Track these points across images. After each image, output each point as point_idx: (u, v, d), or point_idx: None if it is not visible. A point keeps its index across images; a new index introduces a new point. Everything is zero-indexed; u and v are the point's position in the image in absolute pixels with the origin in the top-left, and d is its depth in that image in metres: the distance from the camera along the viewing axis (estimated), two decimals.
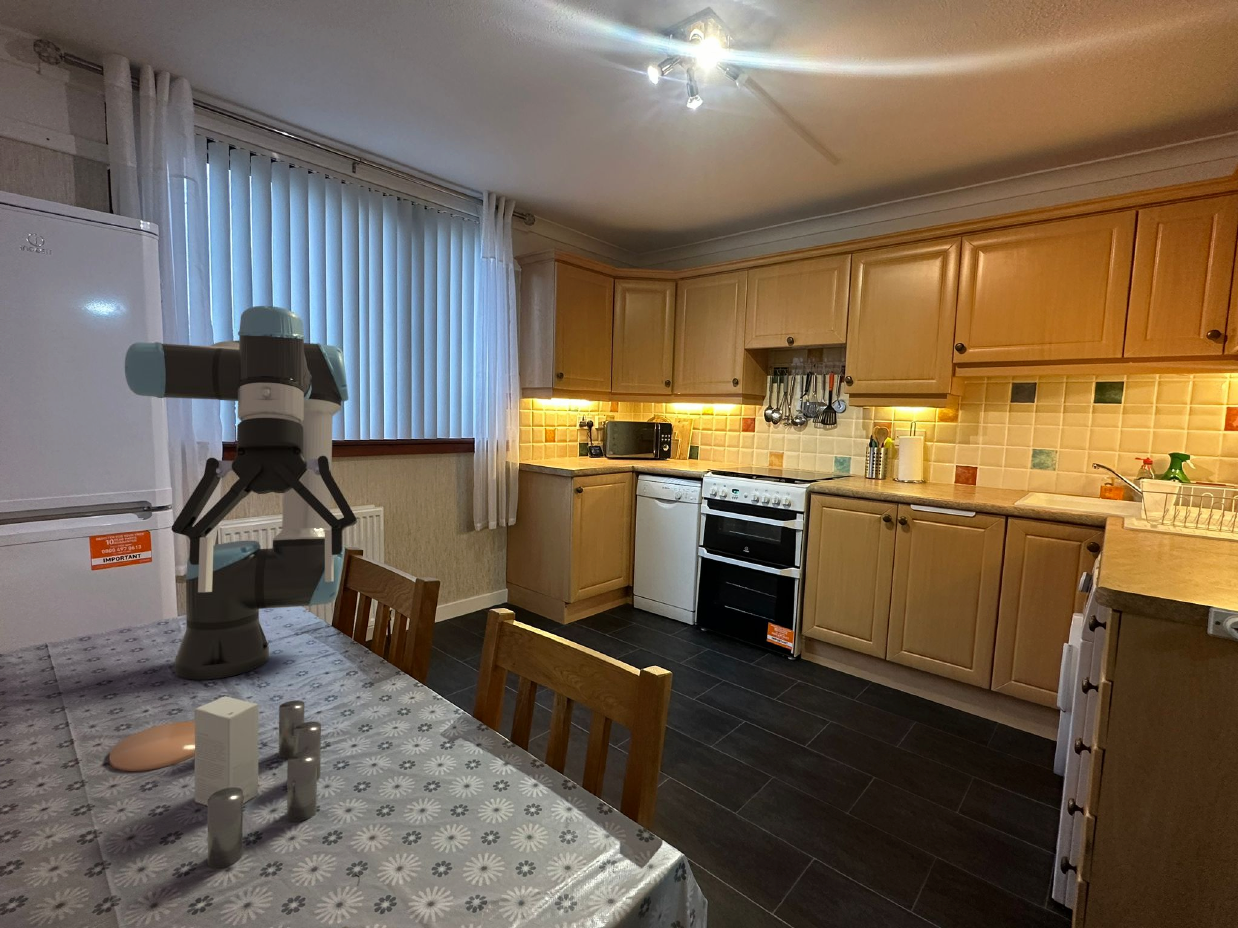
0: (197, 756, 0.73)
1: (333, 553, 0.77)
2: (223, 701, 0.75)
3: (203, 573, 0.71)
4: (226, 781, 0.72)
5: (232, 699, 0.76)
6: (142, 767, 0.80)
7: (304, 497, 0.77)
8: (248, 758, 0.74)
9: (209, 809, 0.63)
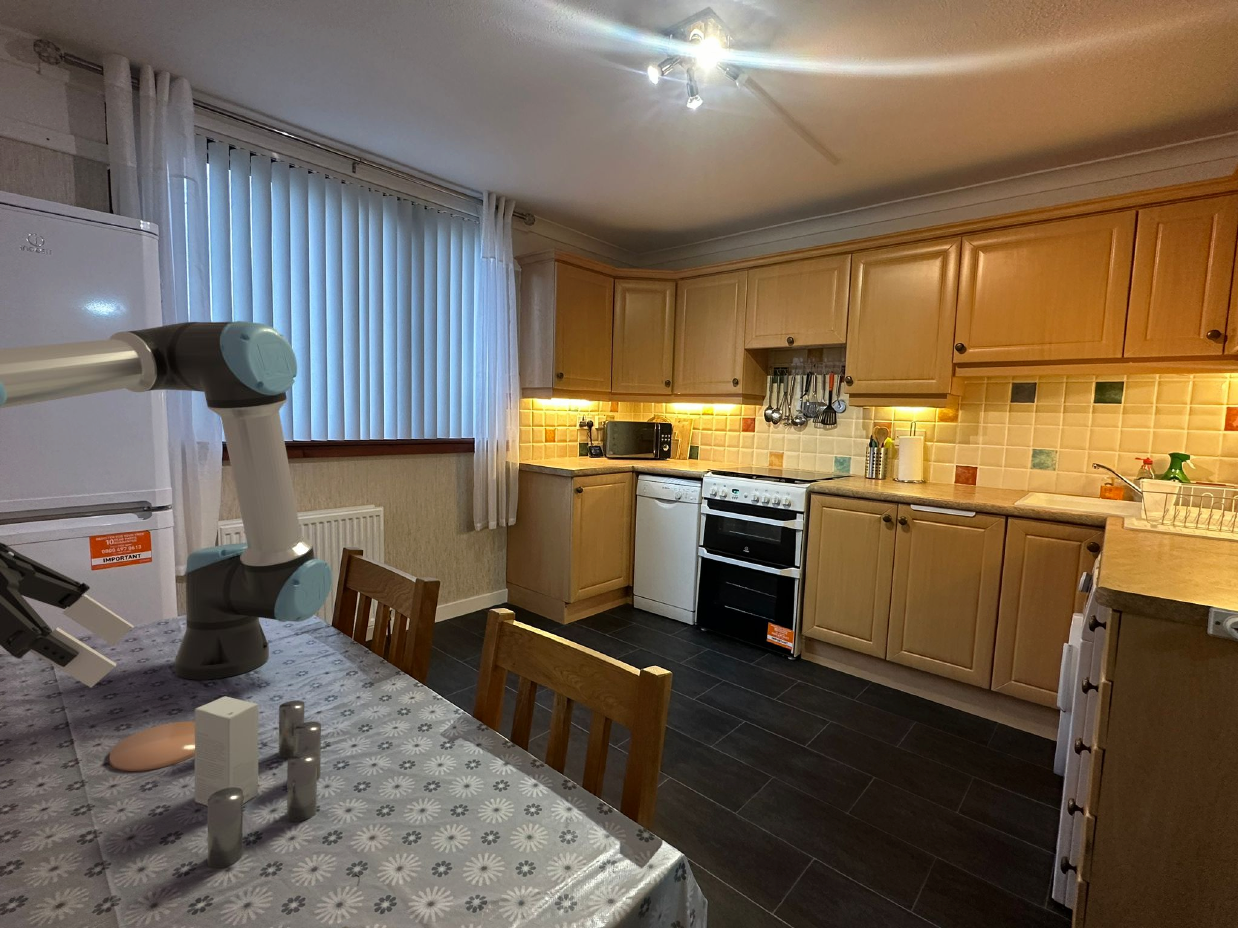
0: (197, 756, 0.73)
1: None
2: (223, 701, 0.75)
3: None
4: (226, 781, 0.72)
5: (232, 699, 0.76)
6: (142, 767, 0.80)
7: None
8: (248, 758, 0.74)
9: (209, 809, 0.63)
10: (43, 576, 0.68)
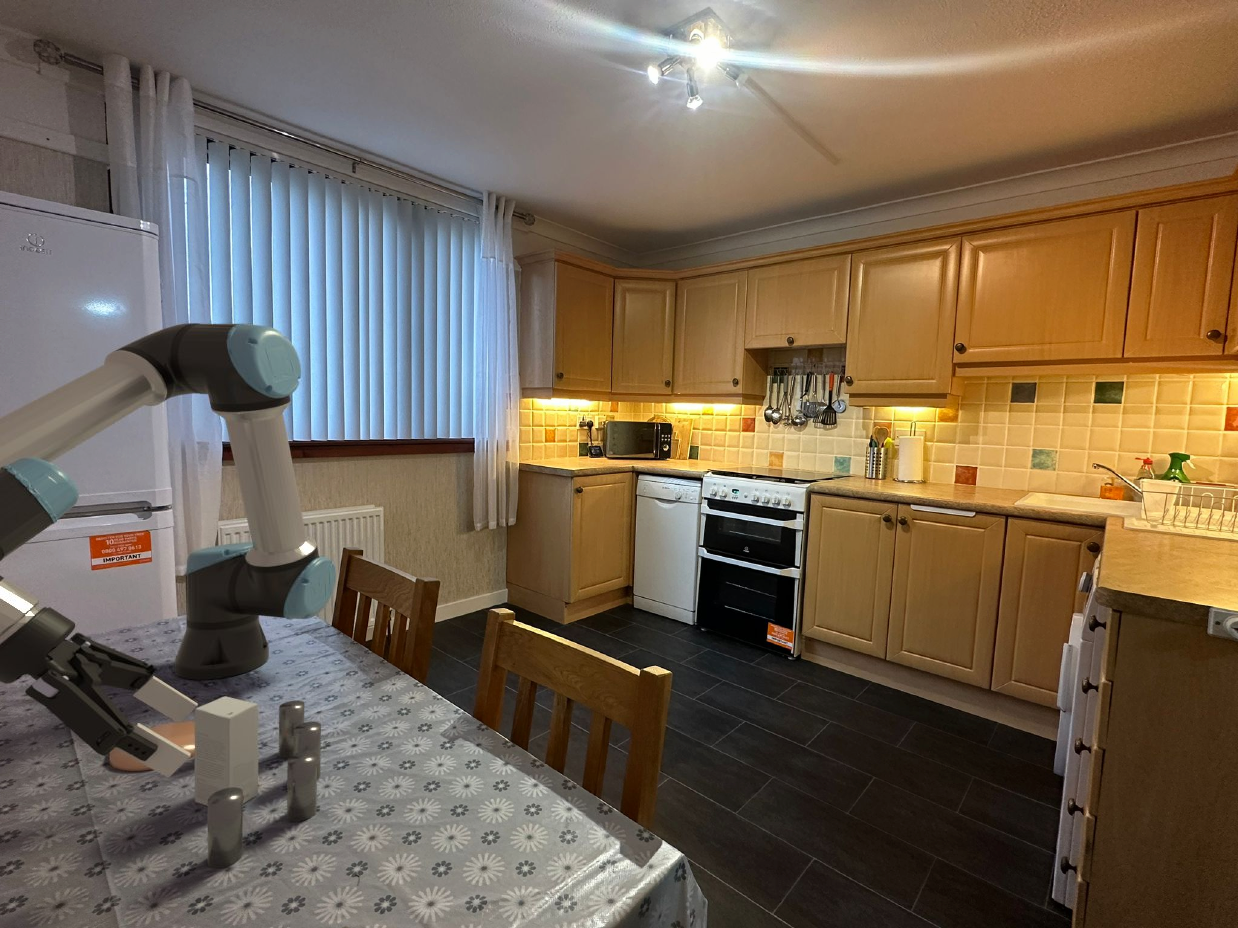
0: (197, 756, 0.73)
1: None
2: (223, 701, 0.75)
3: None
4: (226, 781, 0.72)
5: (232, 699, 0.76)
6: (142, 767, 0.80)
7: None
8: (248, 758, 0.74)
9: (209, 809, 0.63)
10: (117, 663, 0.71)
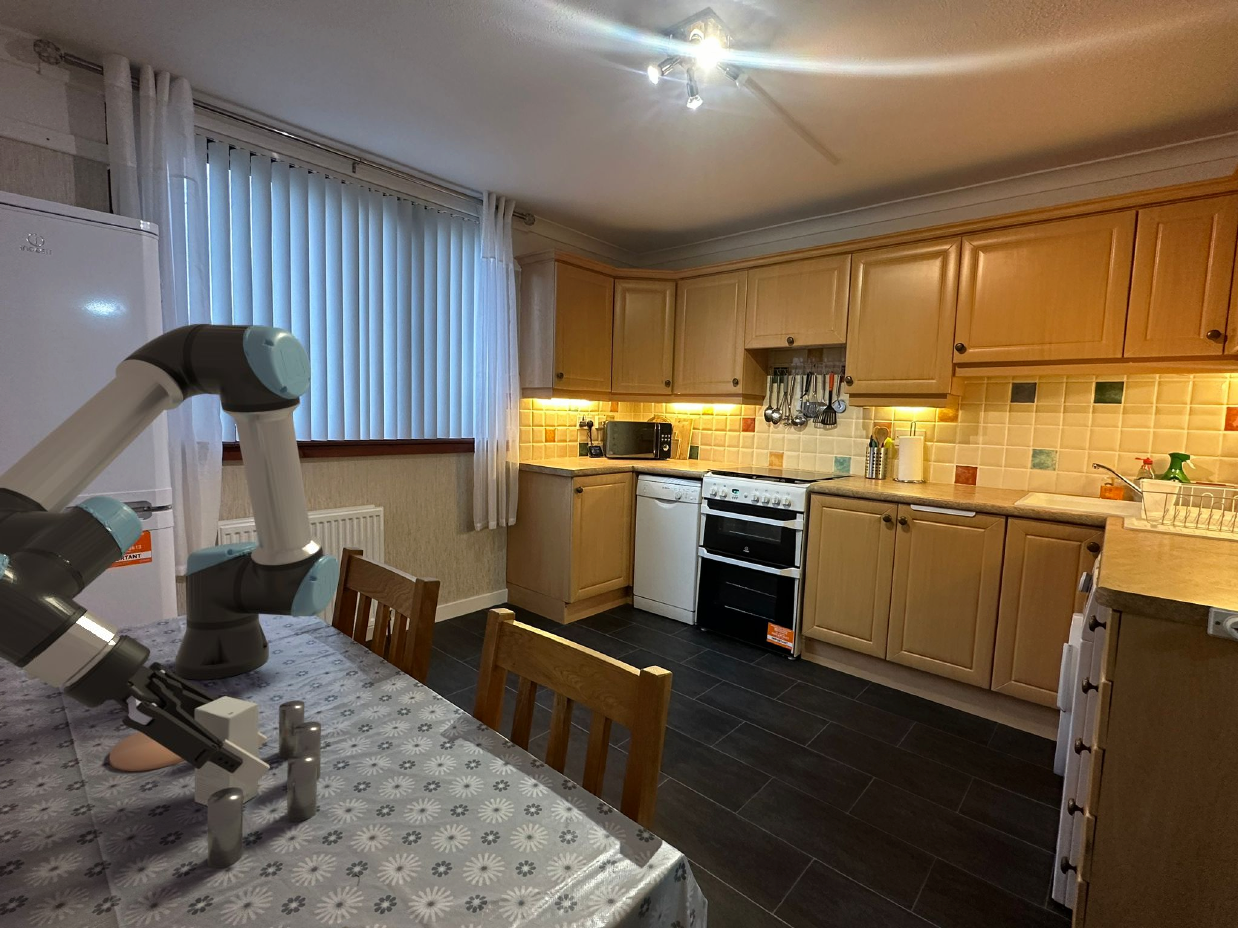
0: None
1: None
2: (223, 701, 0.75)
3: None
4: (226, 781, 0.72)
5: (232, 699, 0.76)
6: (142, 767, 0.80)
7: None
8: None
9: (209, 809, 0.63)
10: (190, 694, 0.75)
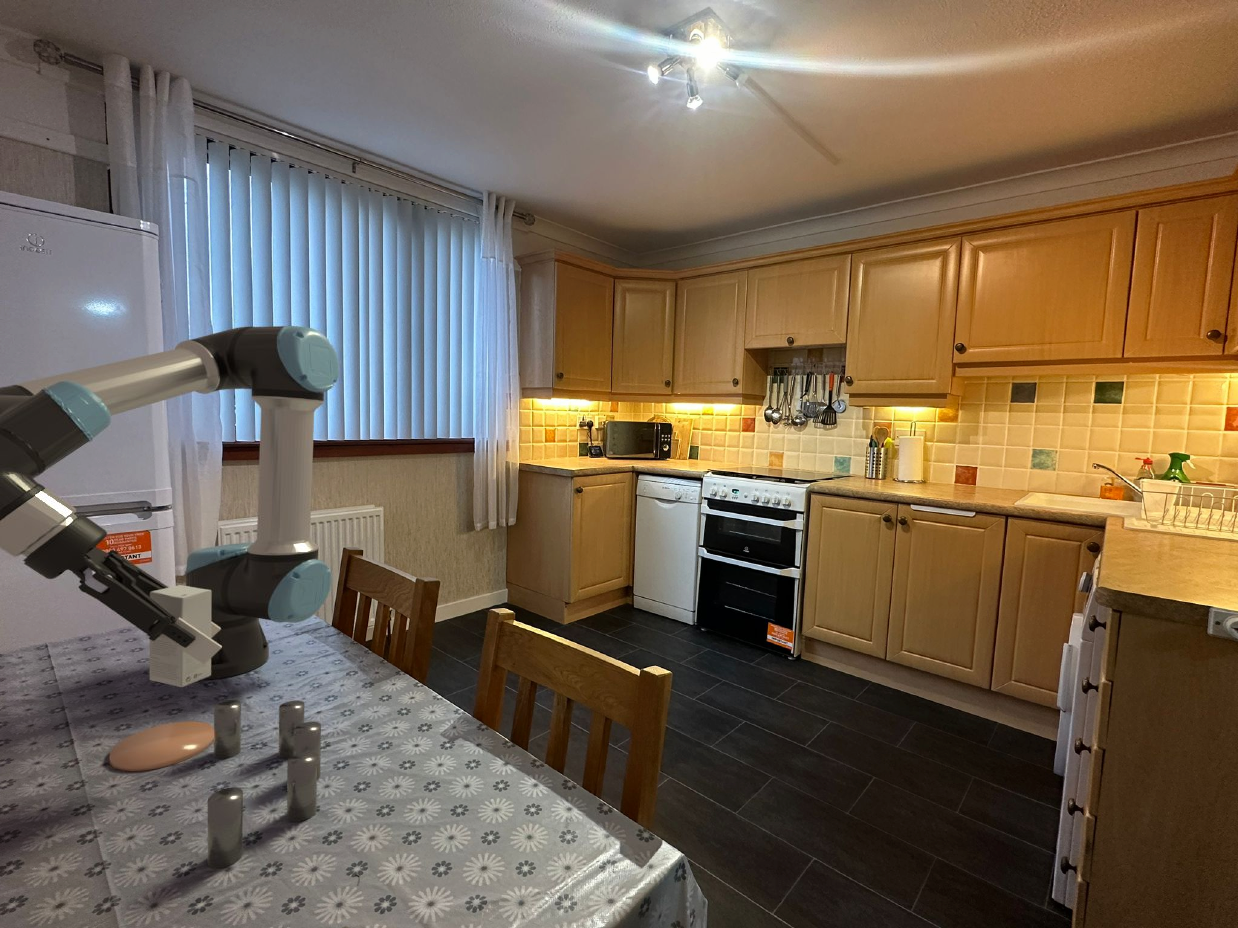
0: None
1: None
2: (177, 587, 0.80)
3: None
4: (179, 658, 0.77)
5: (186, 587, 0.81)
6: (142, 767, 0.80)
7: None
8: None
9: (209, 809, 0.63)
10: (146, 580, 0.79)
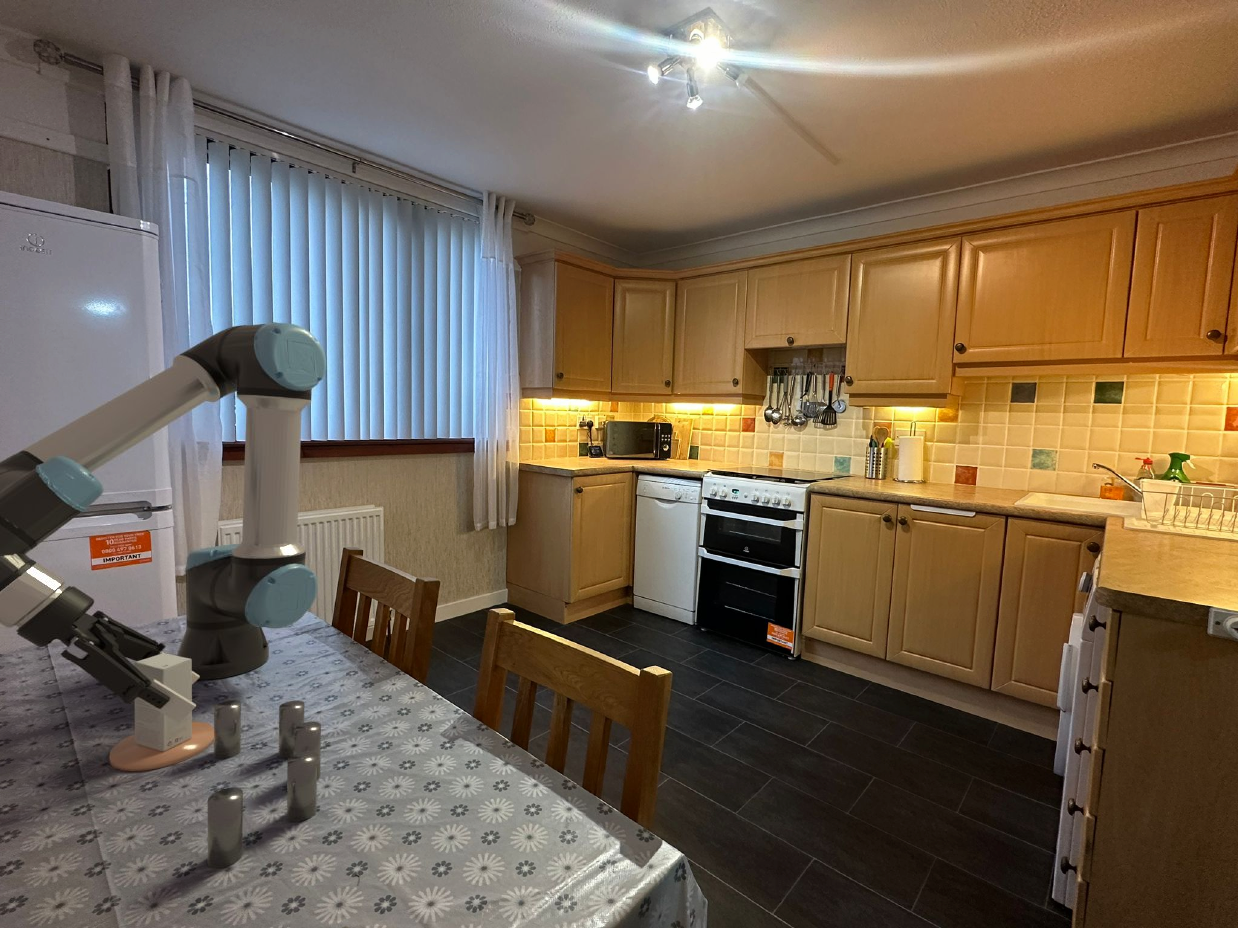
0: (137, 703, 0.84)
1: None
2: (160, 656, 0.86)
3: None
4: (161, 724, 0.83)
5: (169, 655, 0.87)
6: (142, 767, 0.80)
7: None
8: None
9: (209, 809, 0.63)
10: (130, 637, 0.86)
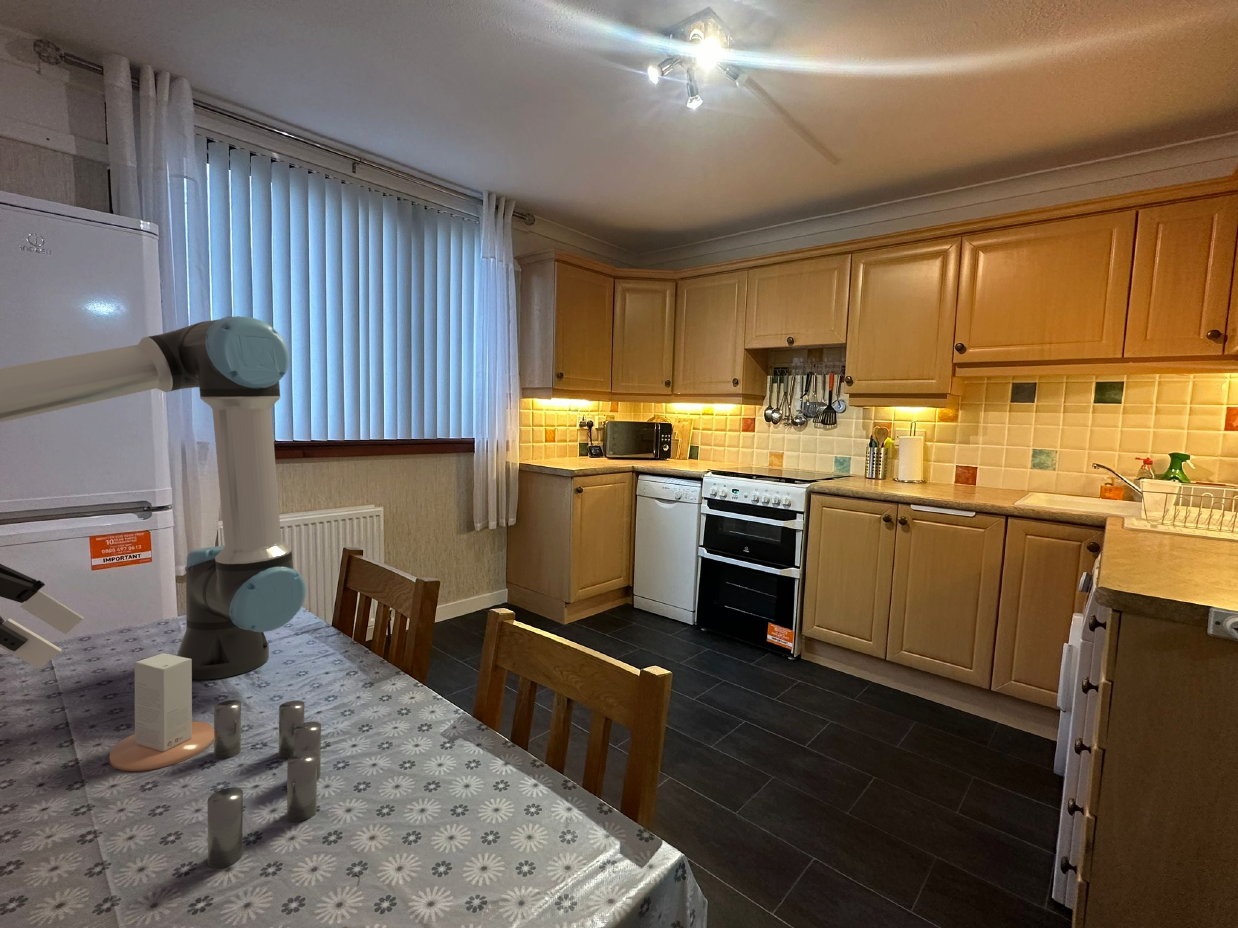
0: (137, 703, 0.84)
1: None
2: (160, 656, 0.86)
3: None
4: (161, 724, 0.83)
5: (169, 655, 0.87)
6: (142, 767, 0.80)
7: None
8: (182, 705, 0.85)
9: (209, 809, 0.63)
10: (2, 575, 0.79)
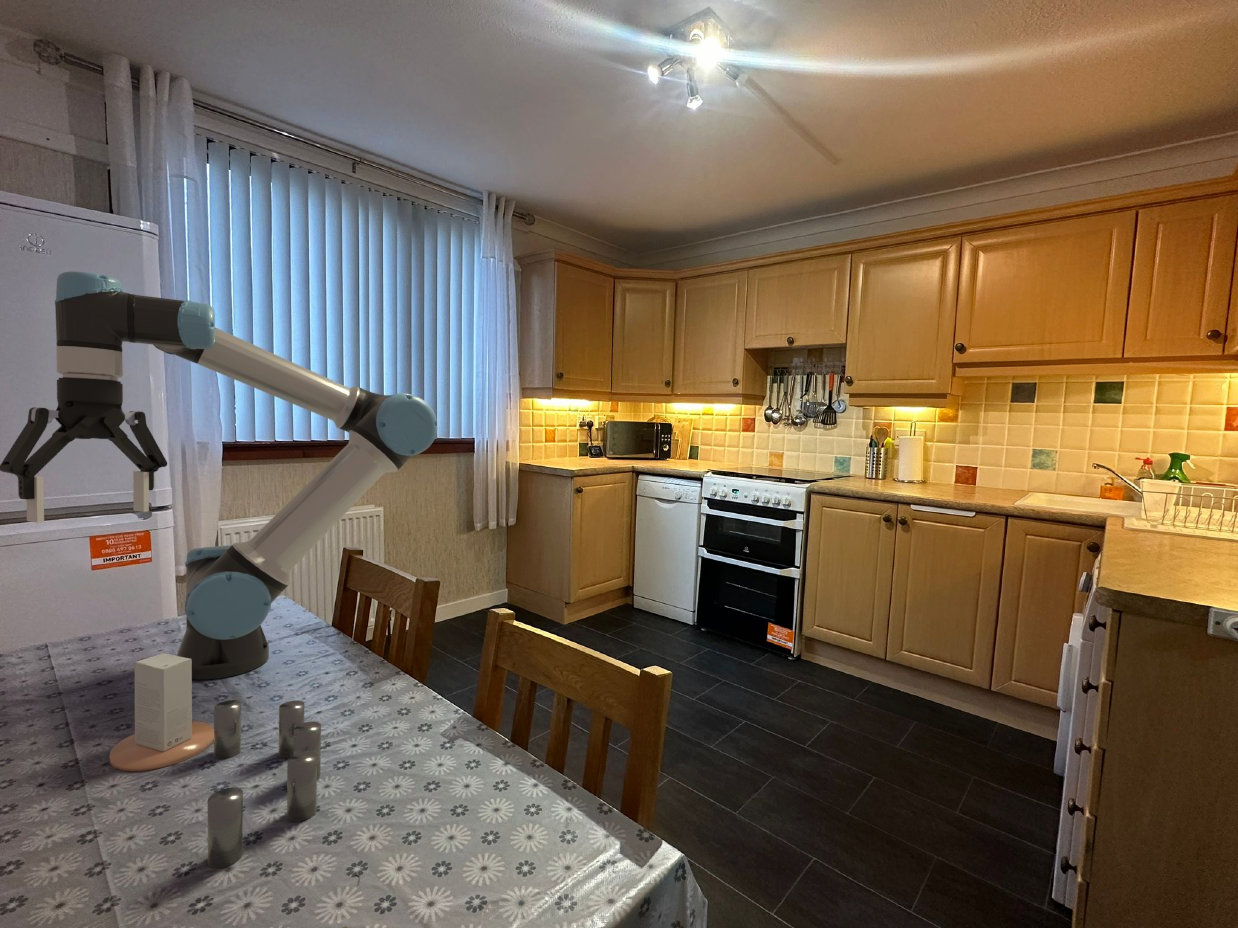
0: (137, 703, 0.84)
1: None
2: (160, 656, 0.86)
3: None
4: (161, 724, 0.83)
5: (169, 655, 0.87)
6: (142, 767, 0.80)
7: None
8: (182, 705, 0.85)
9: (209, 809, 0.63)
10: (131, 445, 0.95)
